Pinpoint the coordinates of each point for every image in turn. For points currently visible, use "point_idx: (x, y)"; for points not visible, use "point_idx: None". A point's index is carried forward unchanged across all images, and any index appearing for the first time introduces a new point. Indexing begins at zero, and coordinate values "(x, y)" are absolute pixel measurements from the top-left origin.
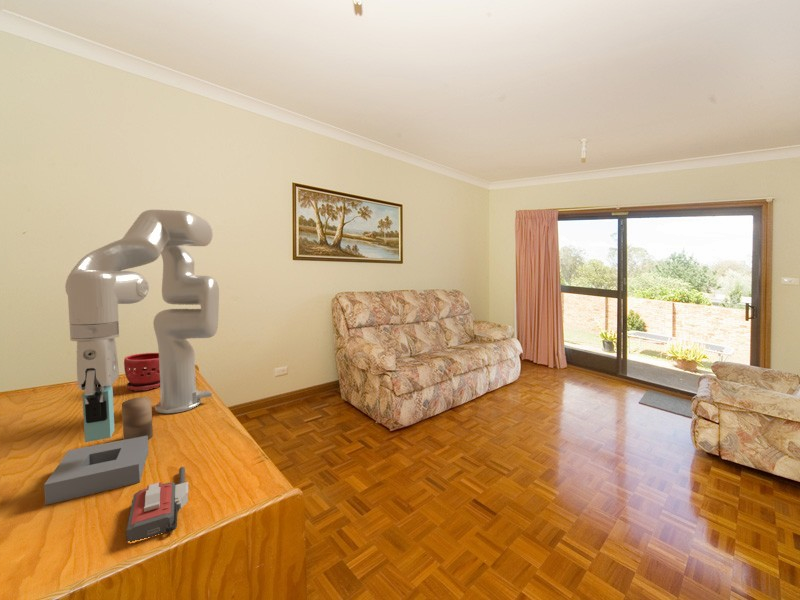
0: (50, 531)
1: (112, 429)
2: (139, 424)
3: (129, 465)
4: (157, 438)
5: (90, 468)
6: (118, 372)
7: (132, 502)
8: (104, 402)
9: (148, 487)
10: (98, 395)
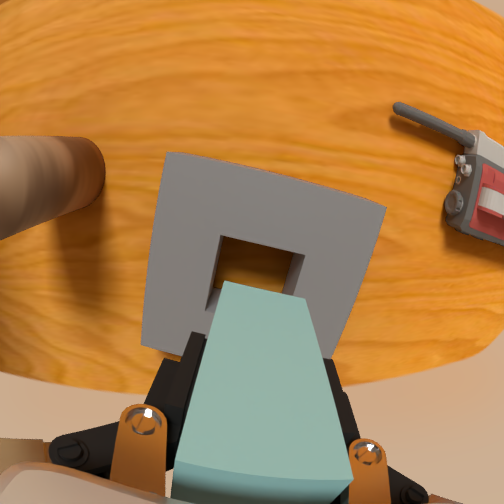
0: (409, 338)
1: (261, 297)
2: (72, 173)
3: (377, 229)
4: (107, 125)
5: (312, 312)
6: (31, 491)
7: (483, 237)
8: (352, 432)
9: (498, 213)
10: (422, 491)
